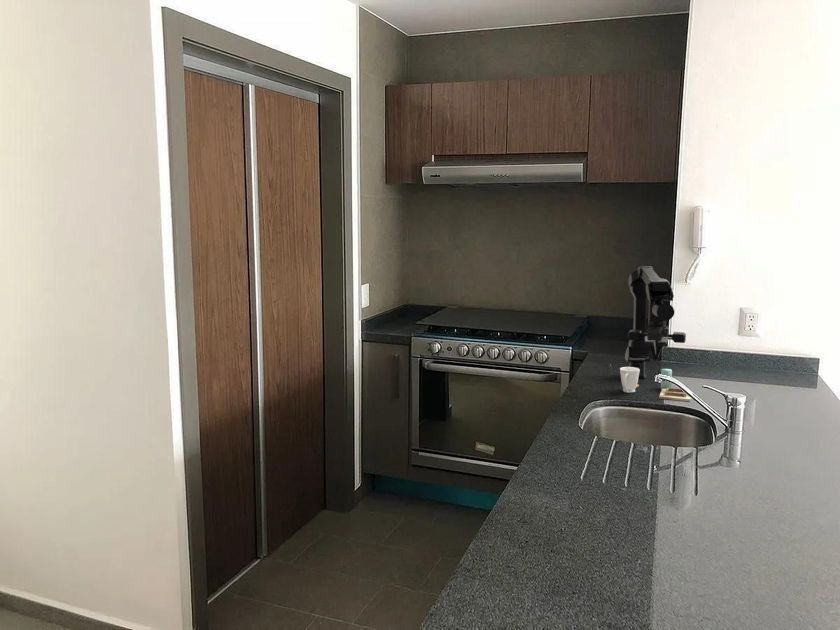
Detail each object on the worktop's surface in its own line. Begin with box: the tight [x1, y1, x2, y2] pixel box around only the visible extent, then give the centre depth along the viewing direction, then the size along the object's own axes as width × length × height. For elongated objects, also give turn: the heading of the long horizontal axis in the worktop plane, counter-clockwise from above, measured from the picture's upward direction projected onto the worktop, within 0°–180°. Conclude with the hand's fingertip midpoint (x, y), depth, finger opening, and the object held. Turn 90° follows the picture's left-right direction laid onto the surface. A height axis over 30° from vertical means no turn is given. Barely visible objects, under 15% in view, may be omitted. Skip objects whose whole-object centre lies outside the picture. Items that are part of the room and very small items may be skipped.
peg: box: [660, 368, 673, 390], centre depth 253 cm, size 4×4×7 cm
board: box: [658, 387, 692, 402], centre depth 243 cm, size 12×10×2 cm
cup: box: [619, 366, 640, 394], centre depth 249 cm, size 7×10×8 cm
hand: (655, 360), depth 245 cm, fingers closed
